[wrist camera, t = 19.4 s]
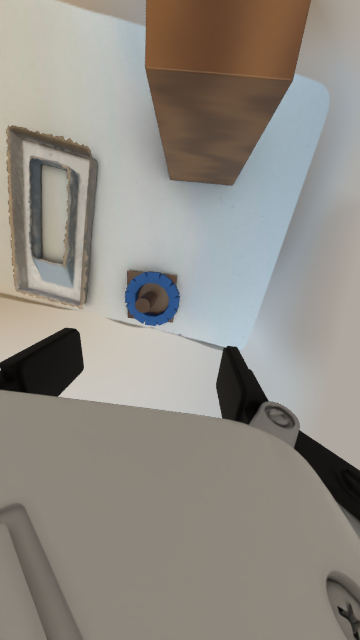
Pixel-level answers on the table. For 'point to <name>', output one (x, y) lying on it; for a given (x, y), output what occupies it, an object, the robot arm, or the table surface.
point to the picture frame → (25, 215)
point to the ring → (164, 282)
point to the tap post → (150, 296)
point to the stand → (218, 78)
